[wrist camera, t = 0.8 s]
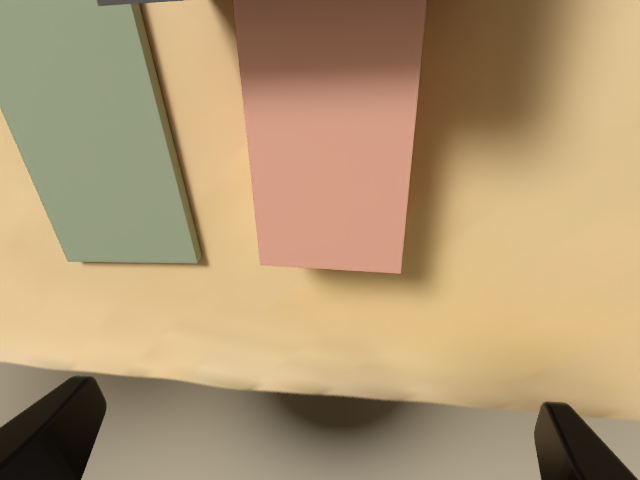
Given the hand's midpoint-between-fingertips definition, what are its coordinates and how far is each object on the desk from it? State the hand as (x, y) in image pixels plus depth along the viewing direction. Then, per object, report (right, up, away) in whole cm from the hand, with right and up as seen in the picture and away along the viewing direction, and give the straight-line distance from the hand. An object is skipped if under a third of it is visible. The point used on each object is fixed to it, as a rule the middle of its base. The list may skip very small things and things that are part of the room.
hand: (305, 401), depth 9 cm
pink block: (+1, +10, +7) cm, 12 cm away
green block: (-9, +8, +9) cm, 15 cm away
